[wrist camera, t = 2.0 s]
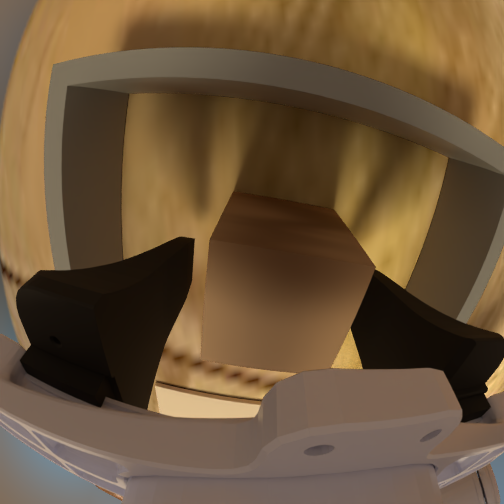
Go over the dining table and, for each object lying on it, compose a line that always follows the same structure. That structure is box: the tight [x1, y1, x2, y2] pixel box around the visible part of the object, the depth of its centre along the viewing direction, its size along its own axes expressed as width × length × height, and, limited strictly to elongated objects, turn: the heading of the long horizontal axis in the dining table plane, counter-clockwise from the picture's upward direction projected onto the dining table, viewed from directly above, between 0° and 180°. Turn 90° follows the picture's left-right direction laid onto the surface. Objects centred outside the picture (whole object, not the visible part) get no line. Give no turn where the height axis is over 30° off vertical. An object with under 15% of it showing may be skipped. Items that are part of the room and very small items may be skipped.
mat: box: [155, 382, 262, 418], centre depth 23 cm, size 14×16×1 cm
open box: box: [44, 47, 504, 324], centre depth 13 cm, size 19×20×5 cm
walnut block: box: [200, 191, 376, 373], centre depth 12 cm, size 5×5×6 cm
